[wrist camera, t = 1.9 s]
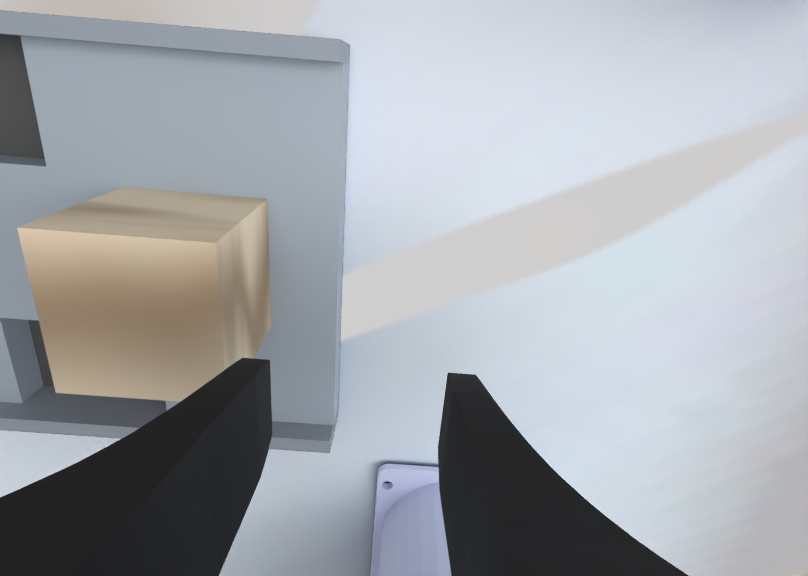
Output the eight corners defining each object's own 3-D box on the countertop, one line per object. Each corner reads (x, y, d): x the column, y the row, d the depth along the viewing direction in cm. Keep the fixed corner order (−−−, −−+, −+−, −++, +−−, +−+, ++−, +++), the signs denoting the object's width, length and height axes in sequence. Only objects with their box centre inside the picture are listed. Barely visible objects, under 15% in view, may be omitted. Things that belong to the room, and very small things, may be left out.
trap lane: (338, 414, 23) (325, 470, 19) (-200, 376, 22) (-304, 427, 19) (349, 44, 17) (334, 36, 13) (-385, -19, 16) (-581, -42, 13)
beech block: (271, 326, 19) (227, 405, 15) (141, 316, 19) (56, 392, 15) (267, 198, 17) (215, 242, 13) (122, 187, 17) (17, 227, 13)
